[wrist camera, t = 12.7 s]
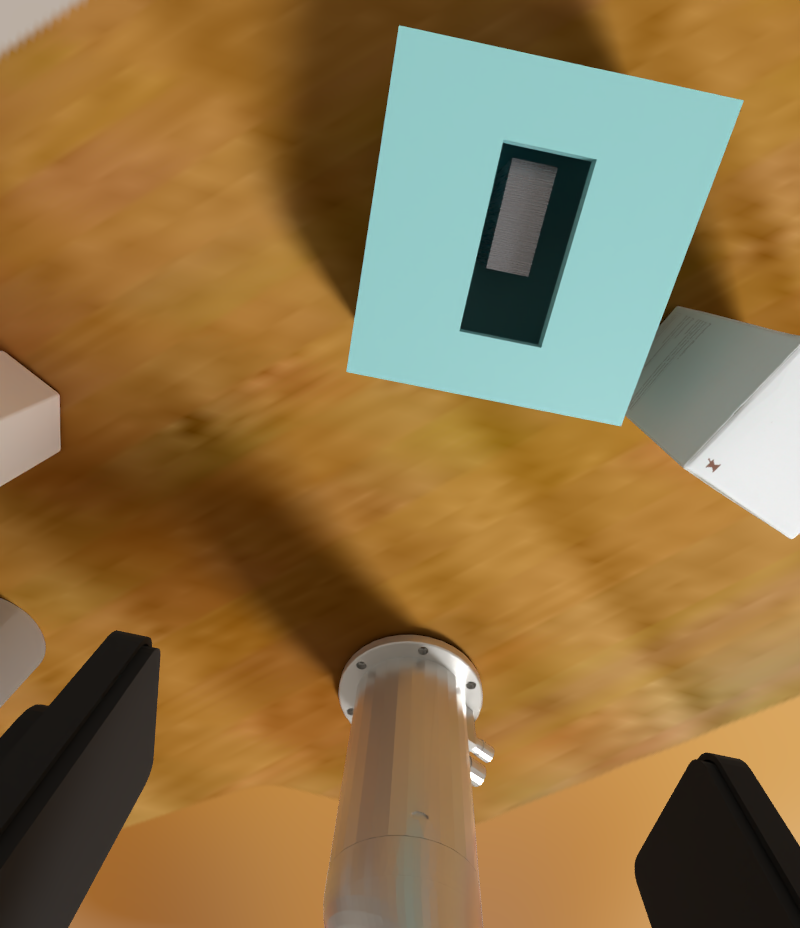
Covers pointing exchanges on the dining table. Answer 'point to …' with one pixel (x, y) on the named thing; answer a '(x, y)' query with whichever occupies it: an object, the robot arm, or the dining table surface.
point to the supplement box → (727, 409)
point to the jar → (25, 419)
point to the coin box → (562, 234)
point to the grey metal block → (516, 216)
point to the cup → (17, 648)
